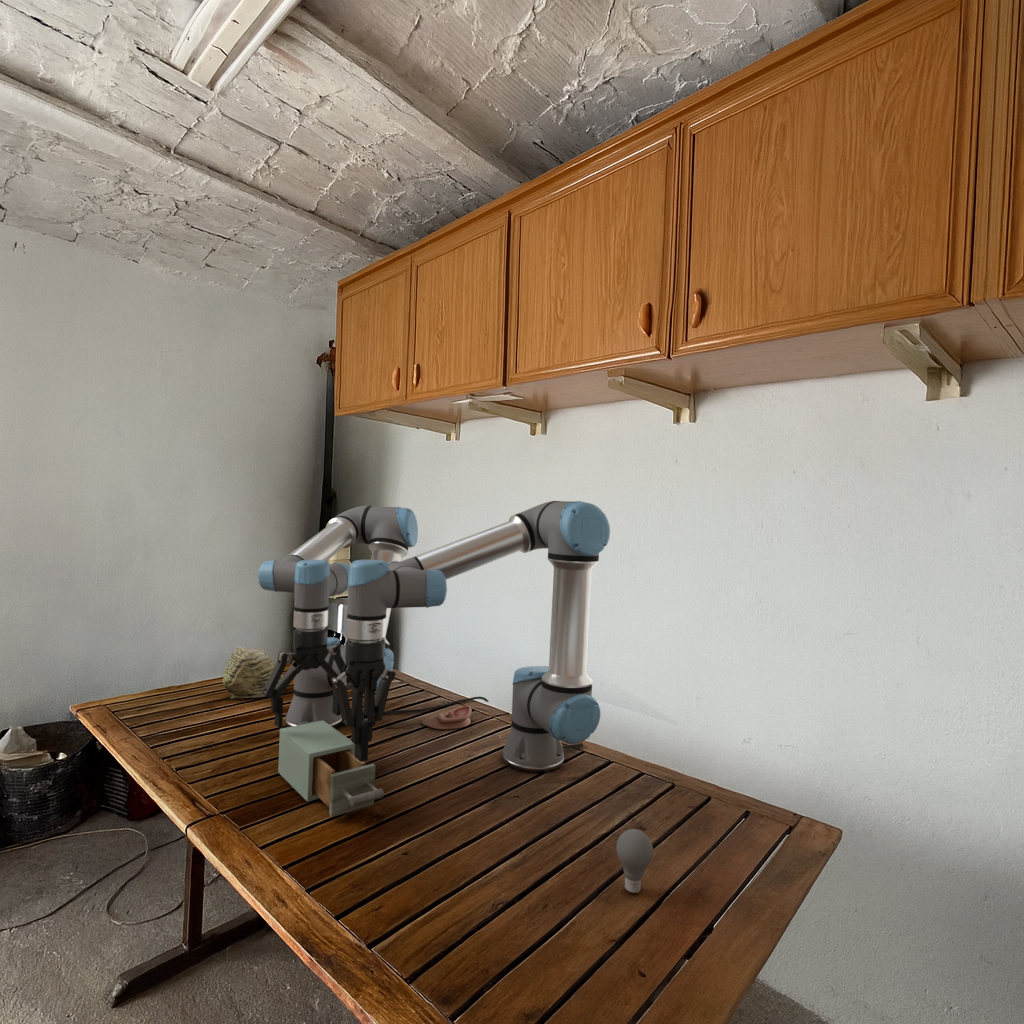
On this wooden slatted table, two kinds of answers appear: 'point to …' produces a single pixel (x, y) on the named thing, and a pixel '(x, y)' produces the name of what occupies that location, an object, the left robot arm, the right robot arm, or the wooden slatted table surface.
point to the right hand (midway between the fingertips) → (360, 758)
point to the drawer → (344, 782)
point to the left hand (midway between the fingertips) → (308, 719)
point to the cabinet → (307, 753)
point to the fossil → (248, 672)
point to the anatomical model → (450, 719)
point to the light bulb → (634, 857)
